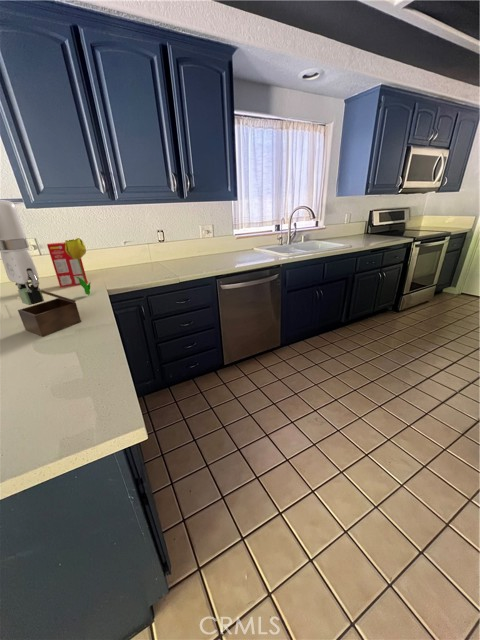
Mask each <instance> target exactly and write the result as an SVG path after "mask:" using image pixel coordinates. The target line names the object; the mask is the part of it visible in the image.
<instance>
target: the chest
mask: <svg viewBox="0 0 480 640" xmlns="http://www.w3.org/2000/svg"><path fill="white" fill-rule="evenodd" d="M17 312H18V315H19V317H20V320H21V322H22V325H23V327H24V330H25V332H26V331H27V332H29V333H31V334H34V335H37V336H39V337H42V338H43V337H46V336H49V335H52V334H53V333H56V332H59V331H61V330H64V329H66V328H69V327H71V326H74V325H76V324H79V323H81V322H82V319H81V316H80V313H79V308H78V305H77V303H76V301H75V302H72V301H68V300H64V299H60V298H57V297H56V298H54V299H50V300H47V301H43V302H40V303H37V304H32V305H29V306H27V307H23V308H20V309H17Z"/></svg>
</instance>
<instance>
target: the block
mask: <svg viewBox="0 0 480 640" xmlns="http://www.w3.org/2000/svg"><path fill="white" fill-rule="evenodd" d="M41 290H42V289H41V288H40V287H39V291H40V294H41V297H42V300H43V302H45V299H44V295H43V293H41ZM17 292H18V295H19V298H20V300H21V302H22V304H24V305H27V306H33V304H31V301H30V299H29V296H28V290H27V288H24V289H20V290H19V289H18V290H17Z"/></svg>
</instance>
